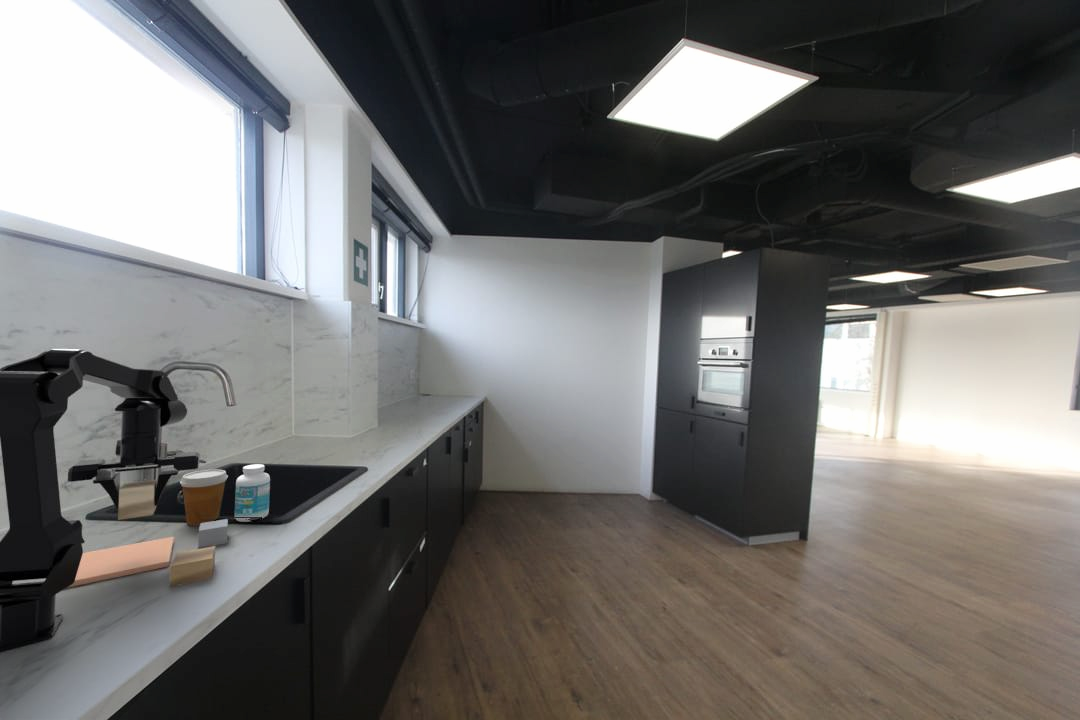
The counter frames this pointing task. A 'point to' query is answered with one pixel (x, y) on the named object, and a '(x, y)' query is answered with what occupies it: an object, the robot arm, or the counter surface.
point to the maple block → (137, 499)
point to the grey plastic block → (212, 533)
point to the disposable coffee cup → (203, 495)
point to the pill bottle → (252, 493)
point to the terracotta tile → (123, 560)
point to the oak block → (192, 566)
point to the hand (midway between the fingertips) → (138, 507)
